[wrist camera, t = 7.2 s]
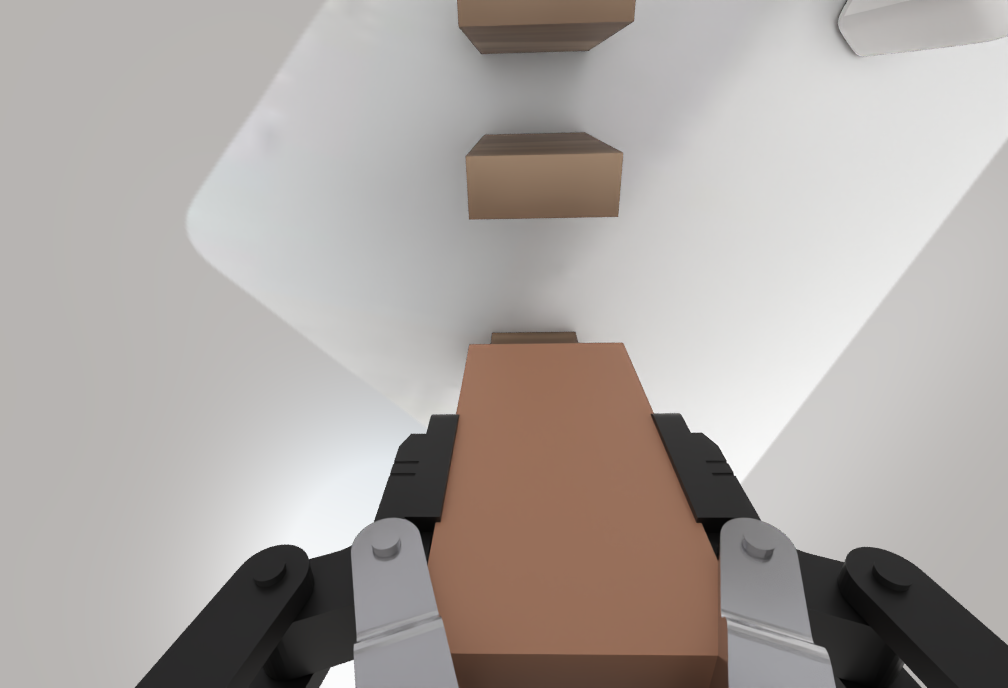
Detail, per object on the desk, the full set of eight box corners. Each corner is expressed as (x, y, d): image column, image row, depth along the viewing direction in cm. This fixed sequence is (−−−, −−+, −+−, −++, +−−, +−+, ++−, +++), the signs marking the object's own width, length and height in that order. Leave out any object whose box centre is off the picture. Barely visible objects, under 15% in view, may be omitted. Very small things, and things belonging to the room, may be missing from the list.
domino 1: (479, 2, 22) (453, -61, 13) (590, -2, 22) (641, -68, 13) (481, 54, 23) (458, 26, 14) (588, 50, 23) (633, 21, 14)
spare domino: (469, 344, 16) (410, 653, 7) (622, 342, 16) (759, 655, 7) (472, 396, 17) (424, 727, 8) (618, 394, 17) (733, 731, 8)
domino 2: (484, 134, 25) (465, 156, 16) (584, 132, 24) (623, 152, 16) (486, 176, 26) (469, 219, 17) (582, 174, 25) (618, 216, 16)
